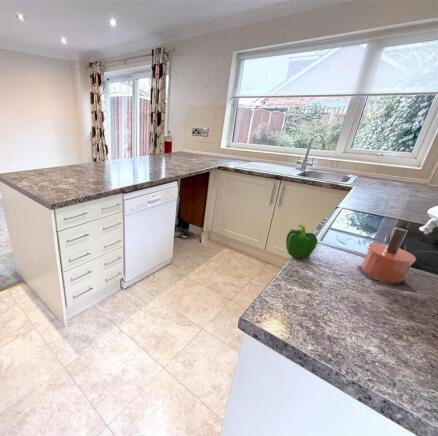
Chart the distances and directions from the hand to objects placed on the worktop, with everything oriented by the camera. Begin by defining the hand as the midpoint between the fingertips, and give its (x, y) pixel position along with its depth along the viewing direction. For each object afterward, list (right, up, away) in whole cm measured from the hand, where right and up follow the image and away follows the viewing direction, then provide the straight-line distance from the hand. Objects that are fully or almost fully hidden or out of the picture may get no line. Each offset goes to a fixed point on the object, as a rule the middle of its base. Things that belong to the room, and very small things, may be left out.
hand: (434, 238), depth 65 cm
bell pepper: (-27, -7, +16) cm, 32 cm away
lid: (-8, -5, +4) cm, 10 cm away
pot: (-8, -11, +7) cm, 15 cm away
